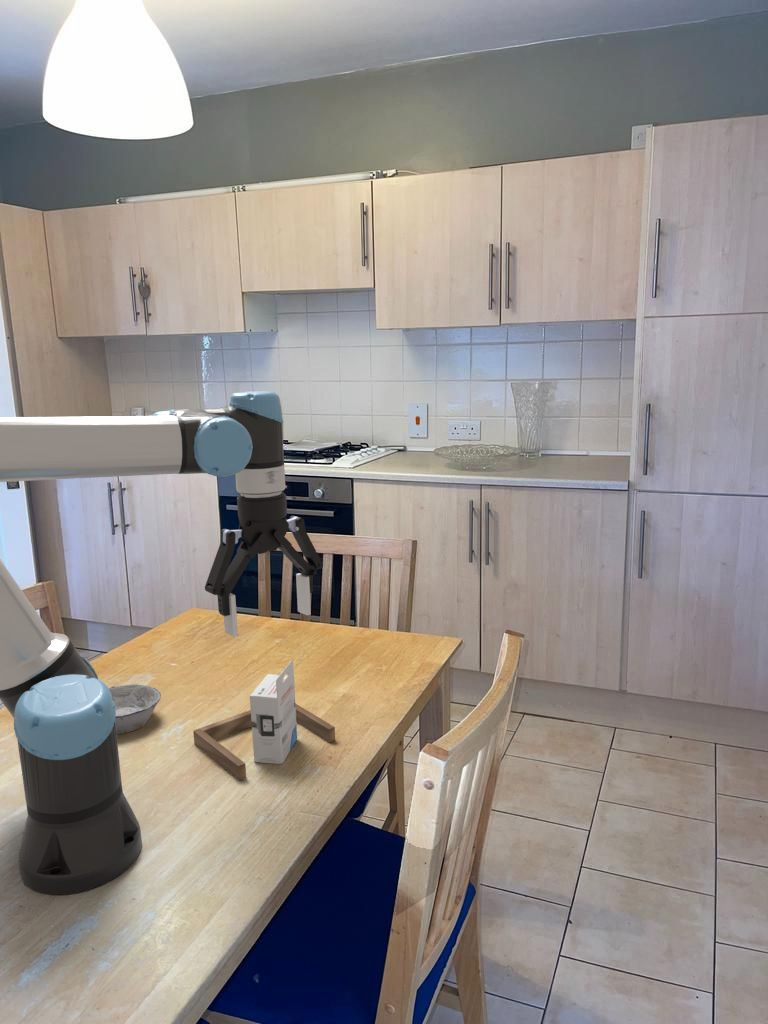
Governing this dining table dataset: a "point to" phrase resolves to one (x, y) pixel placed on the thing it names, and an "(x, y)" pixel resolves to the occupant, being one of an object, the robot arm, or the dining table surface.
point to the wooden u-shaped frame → (212, 732)
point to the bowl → (133, 706)
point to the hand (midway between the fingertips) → (269, 623)
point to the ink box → (274, 717)
